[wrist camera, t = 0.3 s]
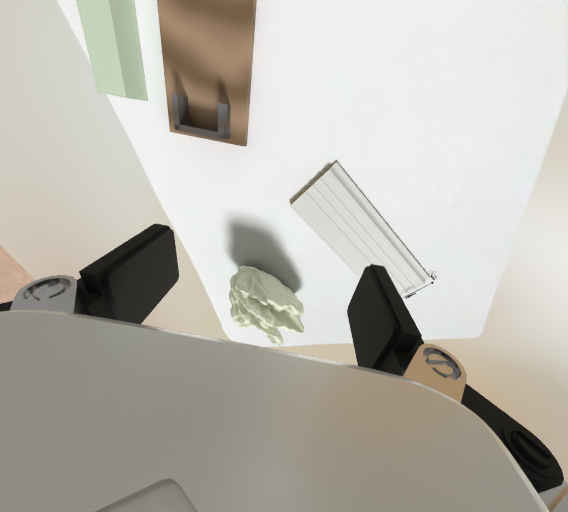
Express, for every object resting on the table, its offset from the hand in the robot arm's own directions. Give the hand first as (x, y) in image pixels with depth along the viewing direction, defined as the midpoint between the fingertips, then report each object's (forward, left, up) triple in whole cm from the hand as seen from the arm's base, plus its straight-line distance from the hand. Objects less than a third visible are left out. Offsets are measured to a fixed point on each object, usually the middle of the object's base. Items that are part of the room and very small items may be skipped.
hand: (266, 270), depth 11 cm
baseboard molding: (+11, +16, -31) cm, 37 cm away
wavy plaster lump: (+27, -1, -31) cm, 41 cm away
